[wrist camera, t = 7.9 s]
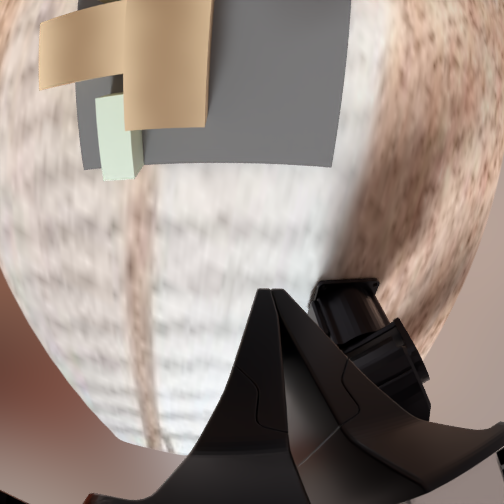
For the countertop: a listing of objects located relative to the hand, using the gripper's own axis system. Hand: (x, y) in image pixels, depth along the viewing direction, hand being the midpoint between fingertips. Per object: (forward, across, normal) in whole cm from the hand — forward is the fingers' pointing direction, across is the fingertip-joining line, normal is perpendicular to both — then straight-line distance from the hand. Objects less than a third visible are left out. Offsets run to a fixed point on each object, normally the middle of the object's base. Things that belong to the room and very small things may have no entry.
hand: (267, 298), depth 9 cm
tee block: (+11, +7, -9) cm, 16 cm away
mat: (+12, +3, -9) cm, 15 cm away
